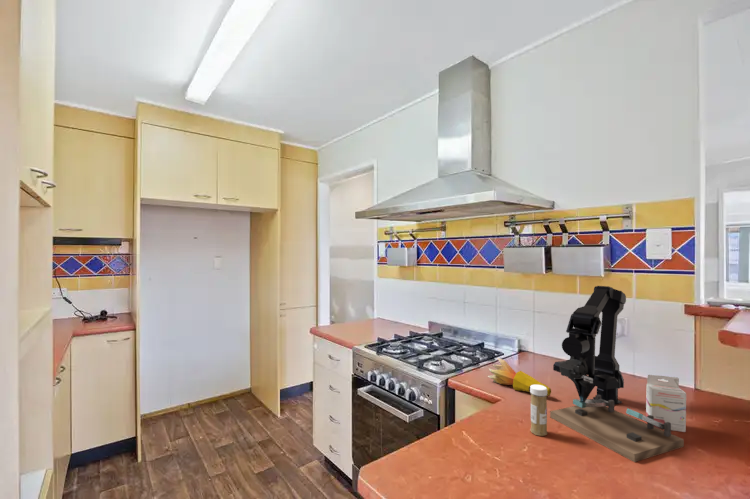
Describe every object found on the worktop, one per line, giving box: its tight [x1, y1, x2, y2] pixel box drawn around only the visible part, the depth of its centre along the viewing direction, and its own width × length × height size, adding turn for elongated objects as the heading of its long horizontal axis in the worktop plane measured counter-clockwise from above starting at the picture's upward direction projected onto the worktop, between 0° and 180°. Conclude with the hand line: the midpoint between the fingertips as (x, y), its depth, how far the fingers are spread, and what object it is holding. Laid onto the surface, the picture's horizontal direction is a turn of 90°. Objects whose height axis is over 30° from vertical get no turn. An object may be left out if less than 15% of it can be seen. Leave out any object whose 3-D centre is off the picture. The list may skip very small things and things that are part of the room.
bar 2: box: [625, 408, 664, 431], centre depth 100 cm, size 13×3×1 cm, turn 111°
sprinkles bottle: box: [529, 385, 548, 437], centre depth 105 cm, size 5×5×14 cm
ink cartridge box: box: [645, 374, 687, 433], centre depth 109 cm, size 9×5×15 cm, turn 71°
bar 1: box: [572, 398, 608, 408], centre depth 115 cm, size 13×3×1 cm, turn 111°
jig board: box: [549, 394, 685, 463], centre depth 106 cm, size 20×26×6 cm
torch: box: [487, 357, 552, 397], centre depth 138 cm, size 8×8×25 cm
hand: (582, 401), depth 113 cm, fingers closed, pressing on bar 1
